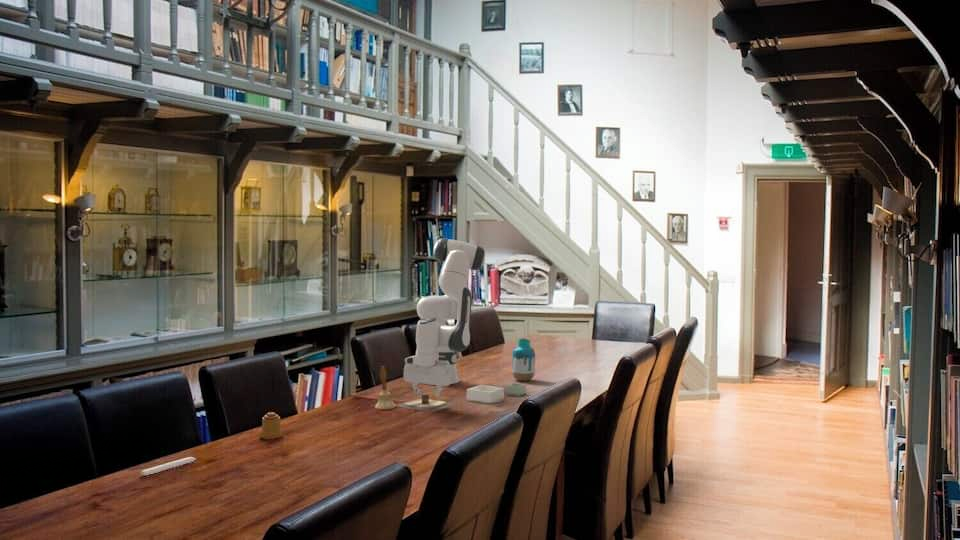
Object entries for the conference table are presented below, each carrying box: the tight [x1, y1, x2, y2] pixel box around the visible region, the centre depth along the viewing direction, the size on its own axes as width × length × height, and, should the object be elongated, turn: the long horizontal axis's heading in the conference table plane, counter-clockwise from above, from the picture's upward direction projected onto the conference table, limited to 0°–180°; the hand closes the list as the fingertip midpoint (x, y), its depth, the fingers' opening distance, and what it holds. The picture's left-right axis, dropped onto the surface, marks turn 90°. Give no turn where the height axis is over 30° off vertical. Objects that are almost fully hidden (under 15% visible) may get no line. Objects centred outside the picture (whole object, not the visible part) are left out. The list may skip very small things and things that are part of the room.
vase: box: [511, 338, 536, 382], centre depth 370 cm, size 11×11×19 cm
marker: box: [139, 456, 197, 475], centre depth 232 cm, size 18×2×2 cm, turn 148°
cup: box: [505, 382, 527, 397], centre depth 340 cm, size 6×6×4 cm
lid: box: [403, 393, 448, 410], centre depth 316 cm, size 12×12×4 cm
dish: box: [466, 384, 505, 405], centre depth 327 cm, size 11×11×5 cm
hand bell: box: [374, 365, 397, 410], centre depth 312 cm, size 8×8×16 cm
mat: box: [396, 398, 456, 413], centre depth 316 cm, size 18×16×1 cm
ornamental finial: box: [259, 411, 284, 440], centre depth 268 cm, size 8×8×8 cm
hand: (426, 395), depth 315 cm, fingers open, 8 cm apart
